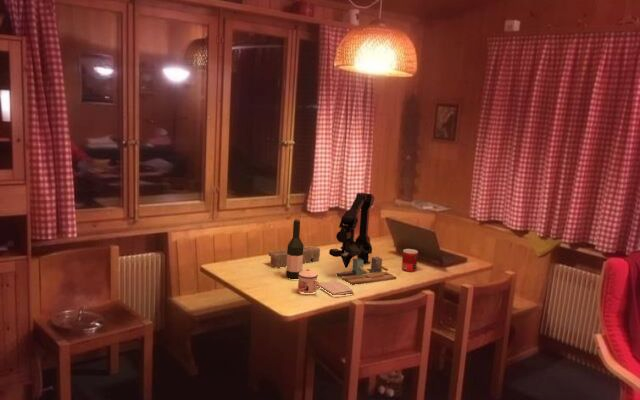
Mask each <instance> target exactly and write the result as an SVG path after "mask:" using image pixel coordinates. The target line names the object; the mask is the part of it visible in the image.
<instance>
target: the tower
mask: <svg viewBox="0 0 640 400" xmlns="http://www.w3.org/2000/svg"><path fill="white" fill-rule="evenodd" d="M287 249H288V248H284V249H283V248H282V249H280V250H278V249H277V250H273V251H272V250H269V251H268V257H270V262H269V263H270V264H271V265H273V266H272V267H274V266H275V267H274V268H276V267H277V268H276V269H281V268H280V267H284V268H287V267H286V266H287ZM320 251H321V248H320V247H317V246H311V245H305V246H304V247H303V264H302V265H306V264H311V263H316V262H320ZM305 263H306V264H305ZM271 265H270V266H271Z"/></svg>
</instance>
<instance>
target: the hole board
mask: <svg viewBox="0 0 640 400" xmlns="http://www.w3.org/2000/svg"><path fill="white" fill-rule="evenodd" d="M344 280H345V281H344ZM392 280H397V276H395V275H393V274H391V273H390V272H388V271H382V272H375V273H368V274H362V275H352V276H344V277H342V281H344V282H346V283H347V282H348V284H349V283H350V285H351V284H352V285H351V286H356V285H355V284H358V285H363V284H364V283H365V284H371V283H378V282H379V283H380V282H387V281H392Z"/></svg>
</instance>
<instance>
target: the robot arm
mask: <svg viewBox="0 0 640 400" xmlns="http://www.w3.org/2000/svg"><path fill="white" fill-rule="evenodd" d="M374 202H375V196H374V195H373V194H372V193H367V192H358V193H357V192H356V194H355V199H354V201H353V203H352V204H351V206H350V208H349V209H348V210H347V211H345V212H344V213H343V215H342V216H341V220H340V223H339V226H338V228H340V231H338V232H337V233H336V235H335V236H336V238H335V239H337V241H338V242H339V243H342V244H341V246H340V249H339V248H330V249H329V251H328V252H329V253H328V254H329V255H330V256H332V257H333V258H338V257H340V258H341V260H342V263H343V265H344V268H345V269H346V268H347V269H348V267H349V265H350V262H351V260H353V259H354V258H355V257H357V258H360V259H362V260H364V263H363V265H368V264H371V262H370V261H369V256H370V254H372V253H373V247H372V243H371V239H370V235H369V223H370V222H369V221H370V209H371V208H372V206H373V205H374ZM359 213H360V218H358V216H359ZM359 219H360V220H359ZM358 223H359V231H358V233H359V234H358V235H357V237H356V239H355V231H356V228H357V226H358ZM357 258H356V259H357Z"/></svg>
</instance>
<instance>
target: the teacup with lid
mask: <svg viewBox="0 0 640 400" xmlns="http://www.w3.org/2000/svg"><path fill="white" fill-rule="evenodd" d="M298 275H299V280H297V281H298V283H297V292H298V291H300V292H304V293H313V292H316V293H317V291H318V290H320V289H319V288H320V281H319V280H318V277H319V276H318V273H317V272H316V271H313V270H312V269H311V268H310V267H307V268H305V270H302V271H301V272H299V274H298ZM317 284H318V287H317Z"/></svg>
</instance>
